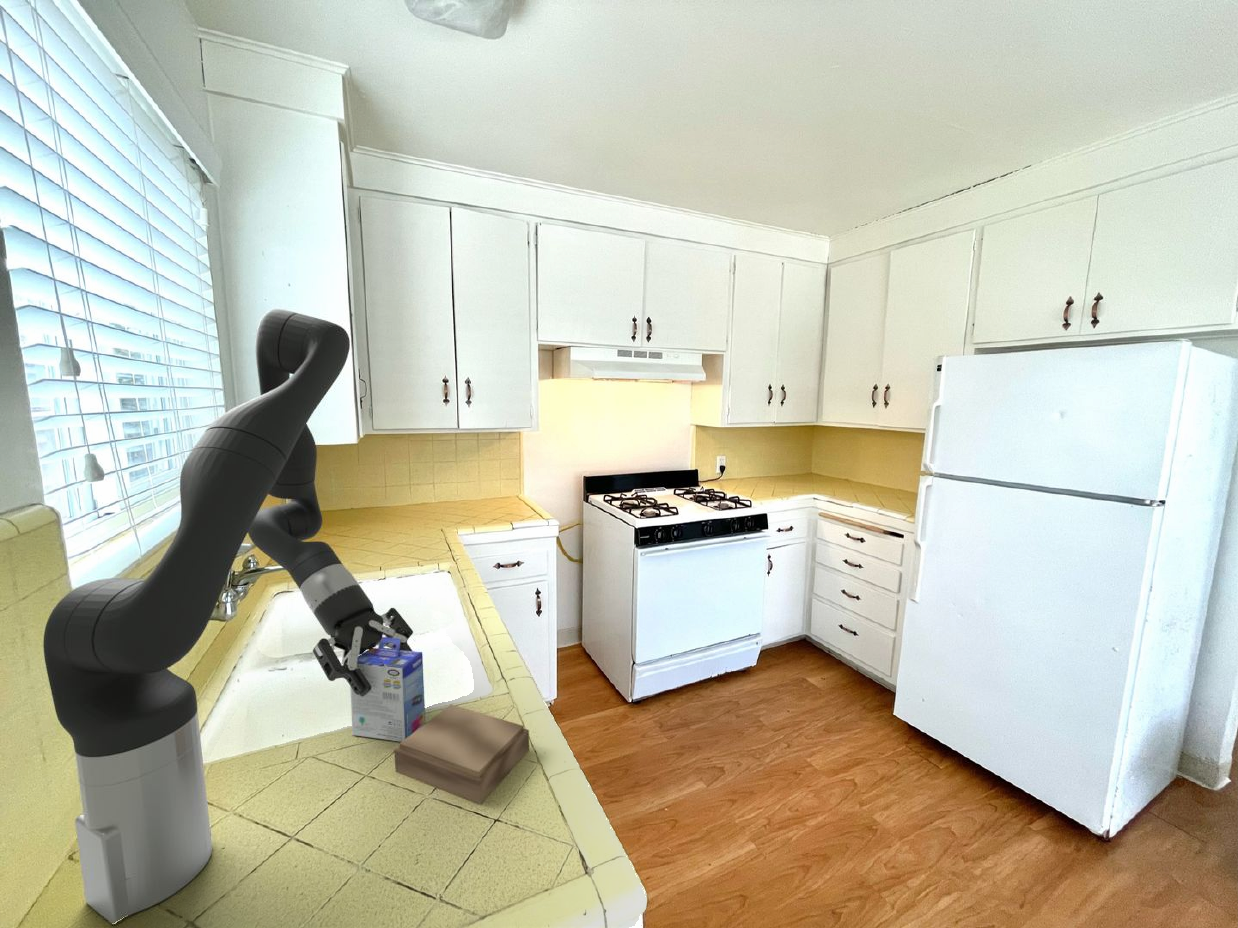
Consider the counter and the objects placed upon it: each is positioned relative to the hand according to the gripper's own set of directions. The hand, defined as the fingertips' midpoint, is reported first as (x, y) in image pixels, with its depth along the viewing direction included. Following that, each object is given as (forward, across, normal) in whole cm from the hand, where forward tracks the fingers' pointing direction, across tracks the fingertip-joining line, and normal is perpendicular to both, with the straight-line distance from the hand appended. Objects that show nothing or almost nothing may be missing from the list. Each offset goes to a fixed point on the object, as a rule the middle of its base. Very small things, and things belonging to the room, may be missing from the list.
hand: (391, 678), depth 76 cm
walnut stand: (+17, -1, -5) cm, 18 cm away
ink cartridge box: (+6, 0, +7) cm, 9 cm away
